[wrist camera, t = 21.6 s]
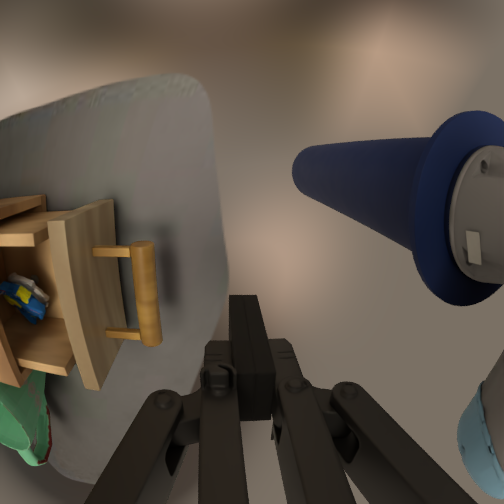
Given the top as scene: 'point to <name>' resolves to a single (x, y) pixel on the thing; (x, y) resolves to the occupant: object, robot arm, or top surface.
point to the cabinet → (3, 363)
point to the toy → (25, 296)
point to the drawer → (76, 290)
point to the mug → (26, 418)
